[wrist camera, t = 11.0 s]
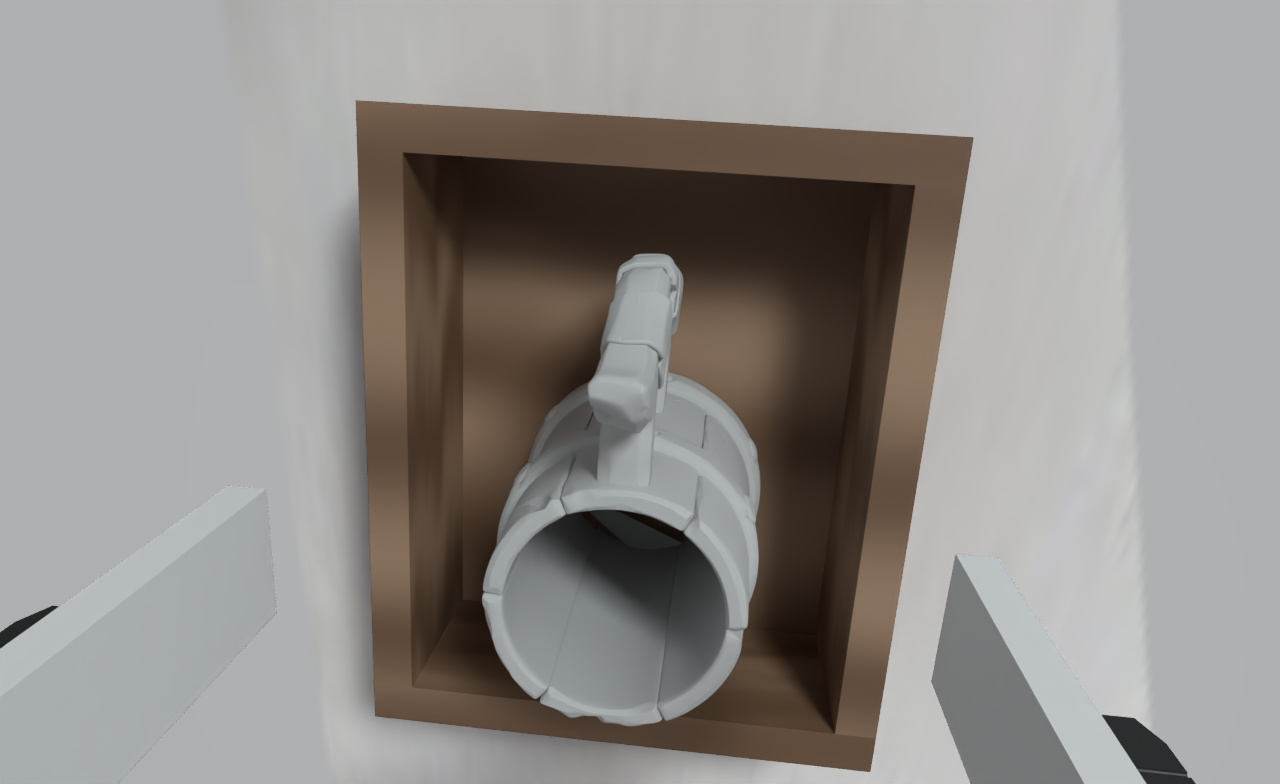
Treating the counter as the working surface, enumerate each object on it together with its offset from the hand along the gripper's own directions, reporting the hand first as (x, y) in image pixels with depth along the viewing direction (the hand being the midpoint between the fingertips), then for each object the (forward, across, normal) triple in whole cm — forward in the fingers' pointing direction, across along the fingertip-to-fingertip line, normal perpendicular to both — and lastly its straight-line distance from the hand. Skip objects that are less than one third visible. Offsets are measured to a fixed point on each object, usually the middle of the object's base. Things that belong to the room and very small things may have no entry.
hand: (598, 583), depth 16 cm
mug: (+13, 0, -1) cm, 13 cm away
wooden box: (+14, 0, -1) cm, 14 cm away
